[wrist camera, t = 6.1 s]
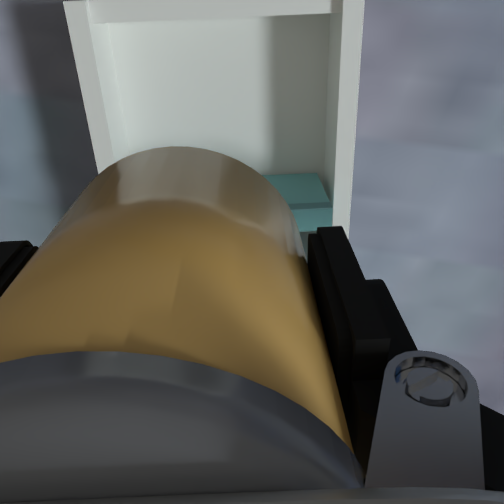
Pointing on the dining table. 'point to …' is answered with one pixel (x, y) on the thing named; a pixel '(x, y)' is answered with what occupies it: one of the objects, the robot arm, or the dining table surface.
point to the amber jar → (169, 343)
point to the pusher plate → (304, 199)
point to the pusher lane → (225, 83)
